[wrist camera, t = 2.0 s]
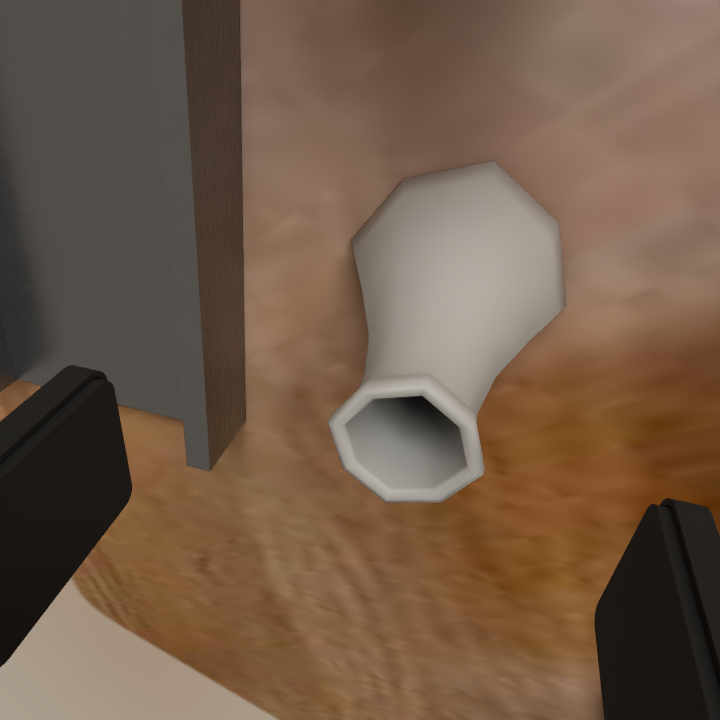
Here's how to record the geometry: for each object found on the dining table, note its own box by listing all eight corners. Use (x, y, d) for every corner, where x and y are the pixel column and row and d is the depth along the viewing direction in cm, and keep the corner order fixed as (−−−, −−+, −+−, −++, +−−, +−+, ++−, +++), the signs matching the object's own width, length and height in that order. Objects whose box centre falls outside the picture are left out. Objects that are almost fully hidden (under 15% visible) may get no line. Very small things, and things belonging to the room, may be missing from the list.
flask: (602, 312, 20) (649, 532, 12) (419, 384, 23) (354, 594, 15) (508, 116, 18) (484, 216, 9) (319, 226, 21) (178, 372, 13)
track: (245, 420, 27) (209, 471, 24) (14, 364, 29) (-45, 405, 26) (236, -163, 16) (169, -200, 13) (-133, -189, 18) (-264, -227, 15)
